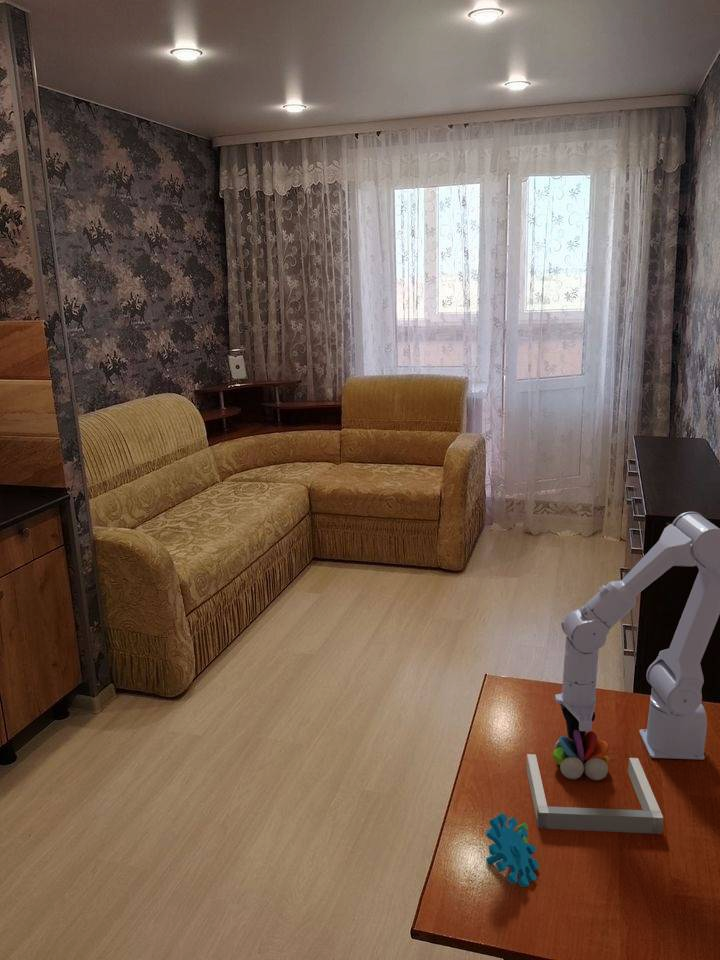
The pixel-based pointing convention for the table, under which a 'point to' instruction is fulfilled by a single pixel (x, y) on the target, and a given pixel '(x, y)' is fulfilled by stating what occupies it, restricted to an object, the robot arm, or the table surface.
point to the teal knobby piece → (511, 850)
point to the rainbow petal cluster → (582, 756)
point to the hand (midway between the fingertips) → (575, 741)
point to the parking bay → (594, 817)
